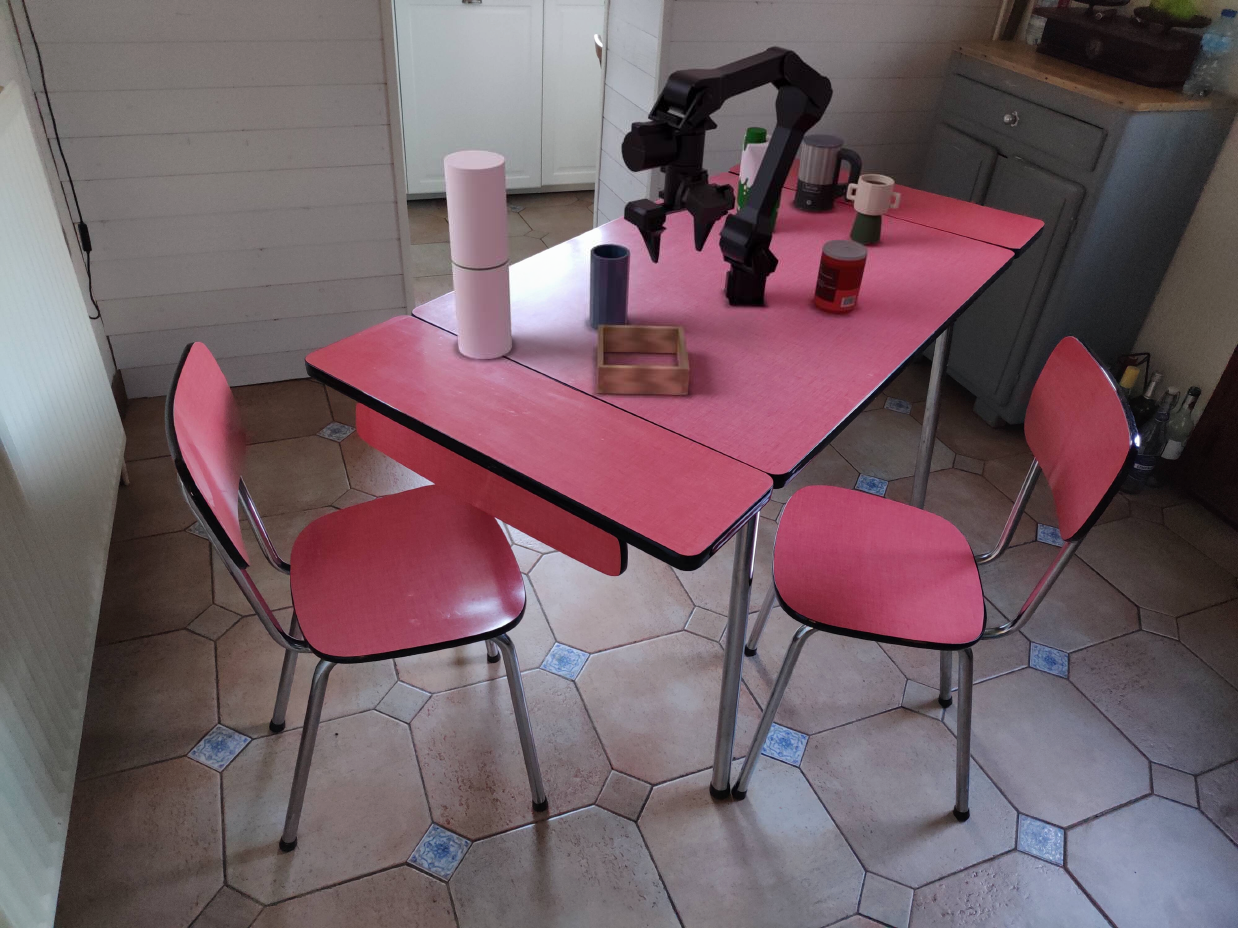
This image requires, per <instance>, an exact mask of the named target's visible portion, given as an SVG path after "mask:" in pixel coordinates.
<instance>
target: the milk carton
mask: <svg viewBox="0 0 1238 928" xmlns="http://www.w3.org/2000/svg"><path fill="white" fill-rule="evenodd" d="M767 132H768V131H767V129H766V128H764V127H759V126H750V127H747V128H746V134H745V135H744V138H743V146H742V152H741V160H740V168H739V177H738V183H737V184H738V185H737V193H736V194H737V195H736V213H737V212H738V211H740V210H741V209H742V208H743V207H744V205H745V203H746V200H747V198H748V195H749V192H750V190H751V187H752V185H753V182H754V180H755V177H756V175H757V172H758V170H759V167H760V165H761V162H762V160H763V157H764V154H765V152H766V149H767V147H768V144H769V142H770V139H771V137H772V135H771V134H767ZM782 193H783V190H782V191H781V193H780V196H779V198H778V201H777V203H776V206H775V208H774V211H773V213H772V216H771V225H772V233H774V232H775V231H774V230H775V226H776V222H777V219H778V214H779V211H780V206H781V199H782Z"/></svg>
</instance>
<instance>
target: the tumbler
mask: <svg viewBox="0 0 1238 928" xmlns="http://www.w3.org/2000/svg"><path fill="white" fill-rule="evenodd" d="M589 252H590V254H589V255H590V256H589V257H590V258H589V261H590V262H589V305H588V307H589V312H588V313H589V315H588V317H589V319H588V320H589V323H588V324H589V326H590V327H591V328H592V329H594V330H596V331H598V325H628V314H629V313H628V310H629V290H630V269H631V250H630V249H629V248H628V247H626V246H623V245H620V244H614V243H603V244H599V245H598V244H597V245H595V246H593V247H592V248H591V249H590V251H589Z"/></svg>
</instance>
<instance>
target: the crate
mask: <svg viewBox="0 0 1238 928" xmlns="http://www.w3.org/2000/svg"><path fill="white" fill-rule="evenodd" d="M604 353H644V354H645V353H646V354H676V361H677V366H676V365H675V366H674V365H673V366H671V365H669V366H668V365H631V364H630V365H629V364H628V365H626V364H625V365H624V364H620V365H619V364H604ZM690 367H691V366H690V362H689V356H688V350H687V343H686V337H685V331H684V326H671V325H669V326H667V325H631V324H630V325H629V324H627V325H598V330H597V368H596V369H597V371H596V373H597V375H596V377H597V379H596V380H597V383H596V384H597V385H596V386H597V388H596V389H597V391H596V393H597V394H615V395H618V394H619V395H620V394H623V395H664V396H665V395H667V396H671V395H672V396H688V395H689V394H688V393H689V383H690V372H691V368H690Z"/></svg>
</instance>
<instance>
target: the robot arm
mask: <svg viewBox="0 0 1238 928" xmlns="http://www.w3.org/2000/svg"><path fill="white" fill-rule="evenodd" d="M769 84H771V85H772V86H773V87H774V88H775V89H776V90H777V94H776V98H775V103H774V107H775V117H776V118H775V119H776V124H775V126H774V129H773V132H772V135H771V136H772V137H771V139H770V142H769V144H768V147H767V149H766V152H765V154H764V157H763V160H762V162H761V165H760V167H759V170H758V172H757V175H756V177H755V180H754V182H753V185H752V187H751V190H750V192H749V195H748V198H747V200H746V203H745V205H744V207H743V208H742V209H741V210H740V211H738V212H737V211H736V213H735V214H733V213H732V212H729V211H732V210H735V207H736V200H737V197H736V195H735V188H734V187H733V186H732V185H731V184H730V183H725V184H719V183H718V184H717V183H716V182H713V183H710V182H709V173H708V169H706V168H704V167H703V165H704V155H705V144H706V143H705V142H706V134H707V132H708V131H712V130H716V129H717V128H718V124H717V123H716V121H714V120H713V119H712V118H711V115H712V114H715V113H716V112H717V111H719V110H720V109H721V108H722V106H723V105H724V103H725V102H726V101H727V100H729V99H731V98H733V97H736V96H739V95H741V94H743V93H746V92H749V91H752V90H754V89H757V88H761V87H762V86H765V85H769ZM833 93H834V89H833V88H832V82H831V80H830V78H828V76H825V75H822V74H821V73H819V72H818V70H816V69H815V68H813V67H812V66H811V65H809V64H808V63H806V62H805V61H804V60H803V59H802V58H801V56H800V55H799V54H797V53H796V51H794V50H791V49H788V48H784V47H781V46H777V45H774V46H769V47H767V49H765V50H764V51H761V52H758V53H756V54H752V55H749V56H747V57H744V58H741V59H739V60H735V61H732V62H729V63H726V64H724V65H721V66H718V67H716V68H688V69H679V70H676V71H673V72H671V74H670V75H669V76H668V78H667V81H666V83H665V85H664V87H663V88H662V90H661V92H660V94H659V96H658V98H657V99H656V101H655V103H654V104H653V106H652V108H651V110H650V112H649V114H648V115H647V119H648V120H649V121H643V122H642V121H635V122H632V123H631V124H630V131H629V132H627V133H626V134H625V135H624V137H623V141H622V142H621V145H620V146H621V147H620V148H621V157H622V159H623V163H624V165H625V167H626V168H627V169H628V170H629V171H631V172H632V173H639V172H644V171H649V170H654V169H658V168H659V172H661V173H662V174H664V186H663V189H661V190H658V198H659V199H661V200H663V202H660V203H657V202H655V201H653V200H650V199H648V198H647V197H646V198H645V197H644V198H641V199H636V200H631V201H628V202H627V203H626V204H625V205H624V207H623V208H624V209H623V220H625V221H626V222H629V223H630V224H631V225H634V226H635V227H636V228H637V231H639V233H640V236H641V238H642V239H643V242H644V245H645V248H646V251H647V252H648V255H649V257H650V260H651V262H652V263H654V264H658V263H659V259H660V253H661V252H660V251H661V240H662V234H663V233H664V232H665V231H666V230H667V227H666V226H664V225H665V223H666V221H667V216H668V215H673V214H677V213H681V212H685V211H687V212H688V213H689V214H690V215H691V217H693V240H694V248H695V251H696V252H698V253H700V252H702V250H703V249H704V247H705V245H706V242H707V240H708V238H709V235H710V234H711V231H712V230H713V227H714V226H715V225H716V222H718V221H721V219H722V218H724V217H725V221H724V224H723V227H722V229H721V230H720V232H719V233H718V235H719V236H720V238H719V241H718V246H719V248H720V252H721V254H722V259H723V262H725V263H728V264H730V266H729V270H727V271H726V274H725V280H724V288H723V289H724V290H723V292H724V296H725V298H726V299H727V302H728V305H729V306H738V307H739V306H740V307H745V306H746V307H765V306H766V299H765V291H766V286H767V278H768V277H770V275H771V274H773V273H775V272H776V270H777V267H778V265H779V262H780V261H779V259H778V258H777V257H776V256H775V254H774V253H773V252H772V250H771V249H770V247H771V243H772V239H773V232H772V225H771V216H772V213H773V211H774V208H775V206H776V203H777V201H778V198H779V196H780V193H781V191H782V192H783V189H784V186H785V183H786V181H787V179H788V176H789V175H790V171H791V169H792V166H793V164H794V162H795V159H796V156H797V154H798V152H799V149H800V147H801V145H802V143H803V141H802V139H803V137H804V136H806V134H807V133H808V131H809V130H811V129H812V128H813V127H814V126H816V125H817V124H818V123H819V122H820V121H821V120H822V119H823V116H824V114H825V113H826V110H827V108H828V106H829V105H830V103H831V101H832V98H833V95H834V94H833ZM669 111H672V112H675V113H677V114H680V115H682V116H684V117H682V116H680V115H677V114H675V113H671V112H669Z"/></svg>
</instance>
